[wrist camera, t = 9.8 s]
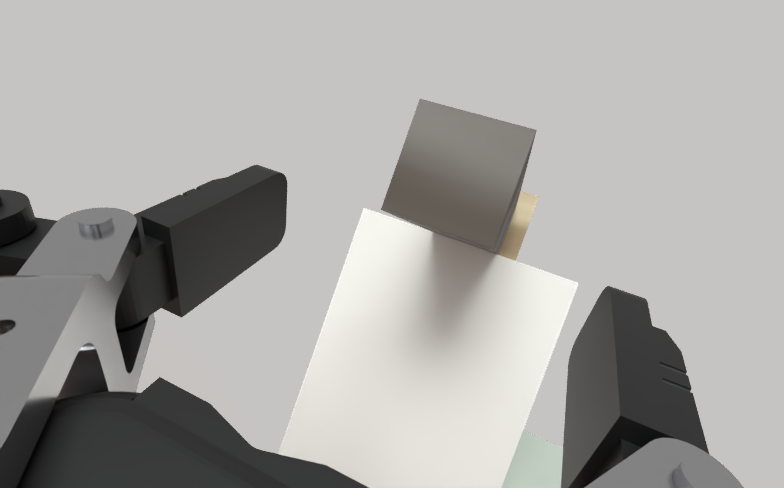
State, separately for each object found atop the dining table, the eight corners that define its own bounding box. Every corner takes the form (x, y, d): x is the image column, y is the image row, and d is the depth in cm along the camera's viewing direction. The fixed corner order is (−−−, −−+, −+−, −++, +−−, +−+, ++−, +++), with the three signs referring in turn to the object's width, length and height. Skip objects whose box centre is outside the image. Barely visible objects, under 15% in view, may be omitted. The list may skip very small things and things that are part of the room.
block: (534, 262, 10) (594, 100, 10) (347, 198, 11) (397, 52, 11) (513, 261, 28) (533, 205, 28) (443, 237, 30) (462, 183, 29)
